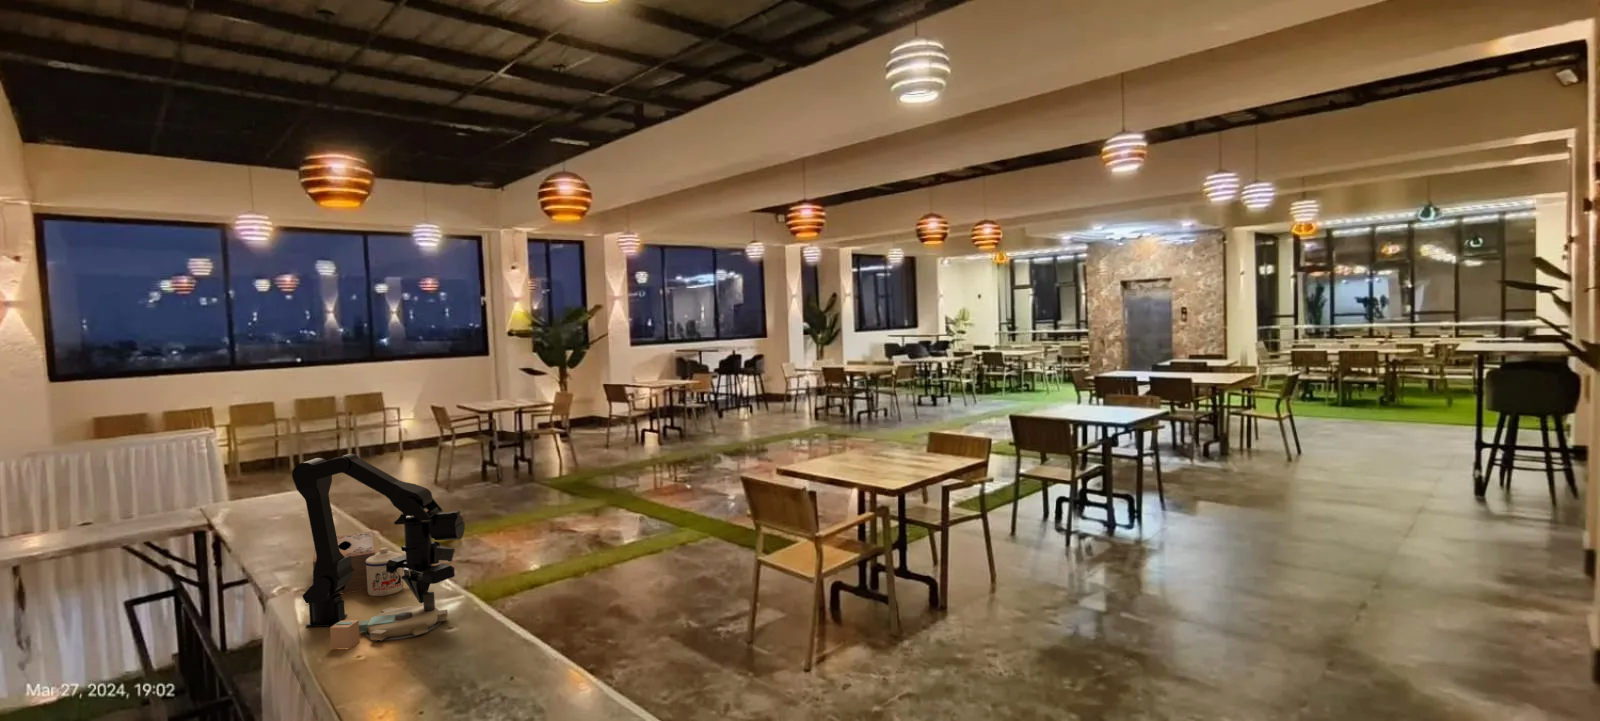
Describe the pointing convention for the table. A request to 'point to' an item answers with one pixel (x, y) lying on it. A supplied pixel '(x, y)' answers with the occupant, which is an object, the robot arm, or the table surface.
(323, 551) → the robot arm
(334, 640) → the link block
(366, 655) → the table surface
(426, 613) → the sprocket disc
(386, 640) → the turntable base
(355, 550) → the tissue box cover
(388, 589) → the teacup with lid
